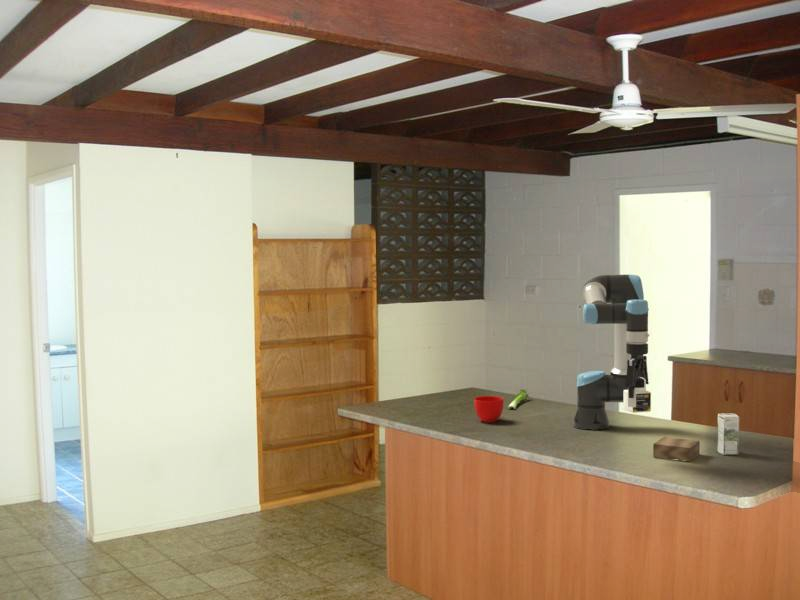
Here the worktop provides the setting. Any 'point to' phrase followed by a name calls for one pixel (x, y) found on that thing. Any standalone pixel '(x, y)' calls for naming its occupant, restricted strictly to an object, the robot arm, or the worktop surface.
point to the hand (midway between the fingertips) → (637, 404)
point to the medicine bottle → (639, 397)
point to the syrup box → (728, 434)
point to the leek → (519, 398)
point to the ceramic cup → (488, 408)
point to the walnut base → (676, 448)
